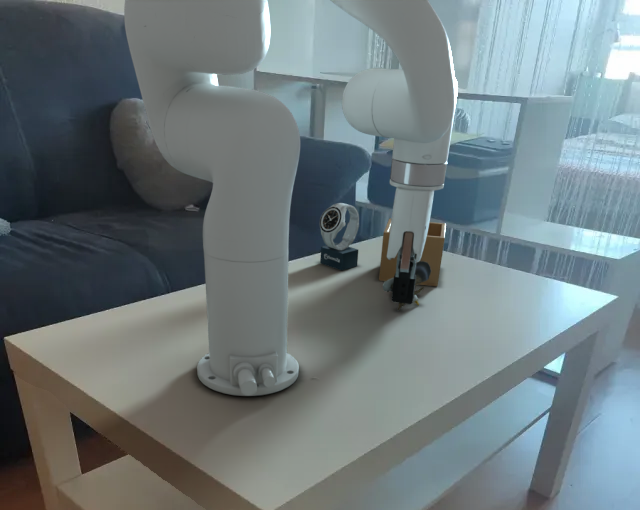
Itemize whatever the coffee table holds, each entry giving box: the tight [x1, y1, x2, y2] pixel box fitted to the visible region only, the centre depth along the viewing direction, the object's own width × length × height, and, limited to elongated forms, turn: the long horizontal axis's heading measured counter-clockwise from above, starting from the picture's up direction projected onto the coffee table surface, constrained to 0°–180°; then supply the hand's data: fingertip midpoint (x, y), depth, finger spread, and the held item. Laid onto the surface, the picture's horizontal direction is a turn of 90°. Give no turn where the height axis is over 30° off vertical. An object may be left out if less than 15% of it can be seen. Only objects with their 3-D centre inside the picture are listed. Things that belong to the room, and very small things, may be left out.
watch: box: [319, 202, 360, 271], centre depth 116 cm, size 6×8×11 cm
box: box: [378, 217, 447, 287], centre depth 114 cm, size 10×10×8 cm
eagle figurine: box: [382, 261, 431, 311], centre depth 102 cm, size 8×7×9 cm
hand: (402, 301), depth 96 cm, fingers closed
